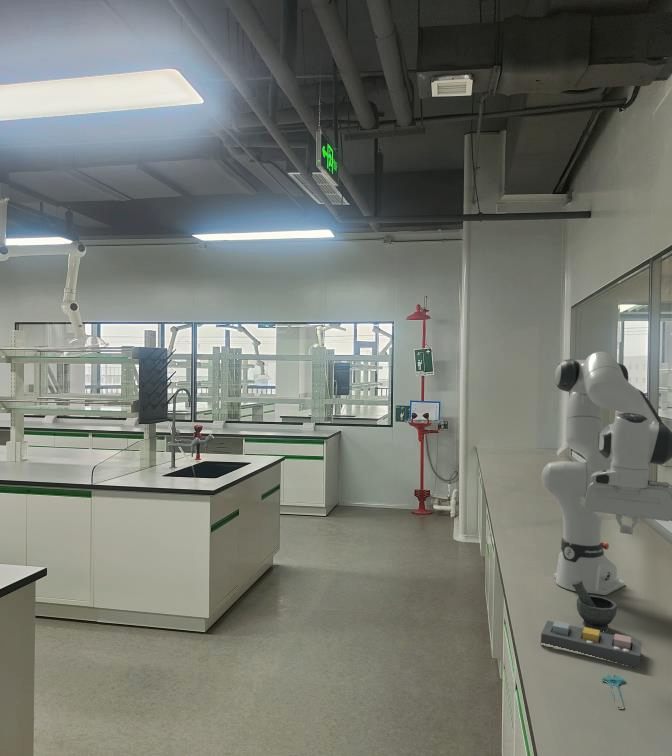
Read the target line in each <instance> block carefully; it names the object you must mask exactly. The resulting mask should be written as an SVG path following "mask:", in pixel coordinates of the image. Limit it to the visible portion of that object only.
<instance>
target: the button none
mask: <svg viewBox="0 0 672 756" xmlns="http://www.w3.org/2000/svg"><path fill="white" fill-rule="evenodd" d="M553 622H554V624H553V629H552V632H554V633H558V634H563V635H567V636H568V635H569V632H570V626H571V624H570V623H569V622H568V623H567V622H563V621H559V620H554V621H553Z"/></svg>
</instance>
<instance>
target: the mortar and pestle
mask: <svg viewBox="0 0 672 756" xmlns="http://www.w3.org/2000/svg"><path fill="white" fill-rule="evenodd" d="M572 586H573V587H574V588H575V590H576V591H575V592H576V594H577V596H578V597H577V598H576V609H577V612H578V614H579V616H580V617H581V619H582V620H583V622H582V626H583V625H584V626H585V627H587V628H592V629H596V630H600V632H603V631H604V633H607V632H608V631H609V625H610V624H611V623H612V622H613V620H614V619H615V618H616V615H617V612H618V605H617V604H616V603H615V602H614V601H613V600H611V599H608V598H605V597H603V596H597V595H592V594H591V595H590V594H589V593H587V591H586V589H585V588H584V586H583V582H582V581H581V580H577V581H575V582H573V583H572ZM584 626H583V627H584ZM607 630H608V631H607ZM606 631H607V632H606Z"/></svg>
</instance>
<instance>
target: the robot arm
mask: <svg viewBox="0 0 672 756" xmlns="http://www.w3.org/2000/svg"><path fill="white" fill-rule="evenodd" d="M629 379H630V378H629V372H628V369H627V367H626V366H625V365H624V364H622V363H619V362H618V361H617V359H616V358H615V357H614V356H613V355H612V354H611V353H608V352H606V351H596V352H593V353H591V354H590V355H588V356H587V357H586V359H572V358H570V359H569V358H568V359H563V360H561V361H560V362H559V363H558V364H557V367H556V369H555V372H554V381H555V385H556V387H557V388H558V390H561V391H564V392H567V393H570V392H571V393H570V394H569V397H568V401H567V407H566V415H565V416H566V420H565V425H566V426H565V431H566V432H565V435H566V436H565V441H566V444H567V446H568V447H569V448H570V449H571V450H572V451H574V452H575V453H577V454H579V455H581V456H582V457H583V458H584V459H585V462H584V461H583V462H582V461H569V460H560V461H551V462H548V463H547V464H546V465H544V467H543V470H542V472H541V476H540V478H541V479H540V480H541V483H542V485H543V486H542V487H543V488H544V489H545V491H547V492H548V493H549V494H550V496H552V497H553V498H554V499H555V500H556V502H557V503H558V505H559V507H560V509H561V514H562V523H563V530H562V531H563V533H562V537H561V542H560V550H561V552H560V553H559V554H558V560H557V568H556V572H554V573H553V577H554V578H555V583H556V584H557V585H558V586H559V587H562V588H563V589H566V590H568V591H572V592H576V590H575V588H574V587H573V586H572V583H573V582H575V581H577V580H581V581H582V582H583V586H584V588H585V589H586V591H587V593H588V594H595V595H601V596H607V595H609V594H610V593H613V592H615V591H616V590H618V589H620V588H623V587H624V586H625V585H626V583H625V581H624V580H622V579H621V578H619V577H618V576H617V575H618V574H617V566H616V564H615V563H614V562H613V561H611V559H609V558H608V557H607V556H606V555H605V553H604V550H609V548H610V544H609V543H608V542H604V541H602V542H601V540H602V539H601V538H602V519H601V517H600V515H599V514H598V513H603V514H611V515H615V520H616V522H617V524H618V526H619V527H620V528H619V533H620V534H626V535H627V534H628V535H633V534H634V528H635V526H636V525H638V522H639V519H648V520H656V521H661V522H662V521H663V522H670V521H672V484H670V483H669V482H666V481H663V482H662V481H655V480H649V479H650V464H655V465H659V466H660V465H664V464H666V463H667V462H669V461H670V460H671V459H672V430H671V429H670V428H669V427H668V426H667V425H666V424H665V423H664V422H663V420H662V418H661V417H660V415H659V414H658V413H657V411H656V409H655V408H654V406H653V405H652V403H651V402H650V400H649V398H648V397H647V396H646V394H645V393H644V392H643V391H642V390H640V389H639V388H637V387H635V386H633V385H632V384H631V383H630V382H629ZM602 409H605V410H610V411H613V412H614V411H616V412H619V413H618V414H616V415H615V417H614V422H613V423H610V424H606V425H605V426H603V425H604V424H603V422H604V421H603V411H602ZM582 499H584V504H583V503H582ZM623 516H627V517H631V521H632V523H631V524H630V525H626V524H625V525H624V523H623V521H622V519H623Z"/></svg>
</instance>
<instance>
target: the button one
mask: <svg viewBox="0 0 672 756" xmlns="http://www.w3.org/2000/svg"><path fill="white" fill-rule="evenodd" d="M583 628H584V629H583V634H582V639H585V640H589V641H594V642H598V643H599V639H600V630H596V629H592V628H587V627H584V626H583Z"/></svg>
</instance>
